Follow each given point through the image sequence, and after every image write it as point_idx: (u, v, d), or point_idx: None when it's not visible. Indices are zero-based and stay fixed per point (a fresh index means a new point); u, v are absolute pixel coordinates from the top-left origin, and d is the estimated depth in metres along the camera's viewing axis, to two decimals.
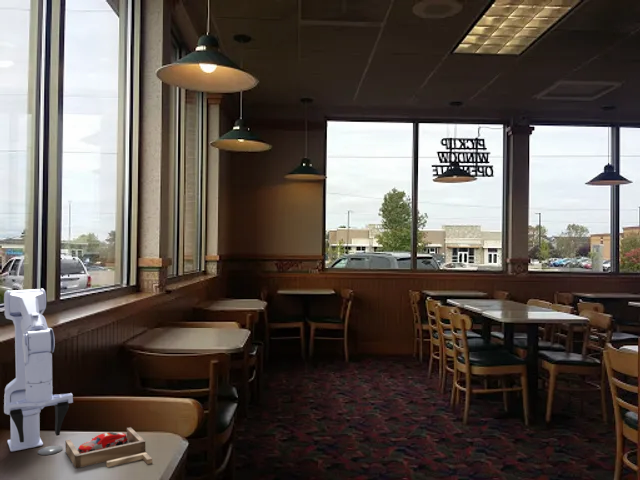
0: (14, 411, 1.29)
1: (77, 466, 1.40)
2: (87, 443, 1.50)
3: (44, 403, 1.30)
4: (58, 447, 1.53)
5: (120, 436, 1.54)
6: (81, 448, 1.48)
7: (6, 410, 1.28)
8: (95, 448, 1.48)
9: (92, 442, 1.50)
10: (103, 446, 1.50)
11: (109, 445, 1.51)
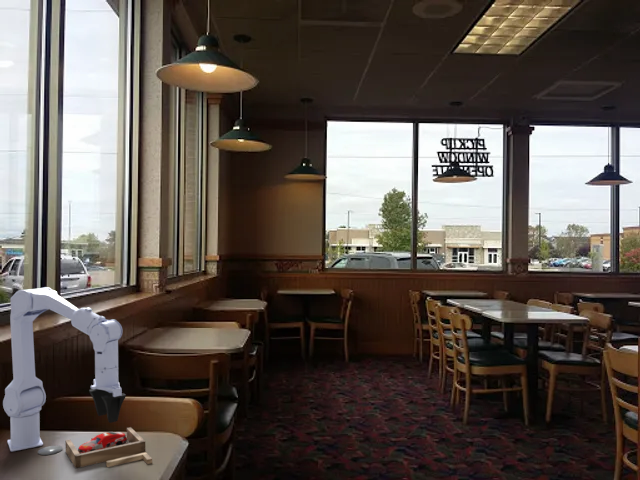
0: None
1: (77, 466, 1.40)
2: (87, 443, 1.50)
3: (92, 387, 1.44)
4: (58, 447, 1.53)
5: (120, 436, 1.54)
6: (81, 448, 1.47)
7: (93, 383, 1.52)
8: (96, 448, 1.48)
9: (92, 442, 1.50)
10: (103, 446, 1.50)
11: (109, 445, 1.51)
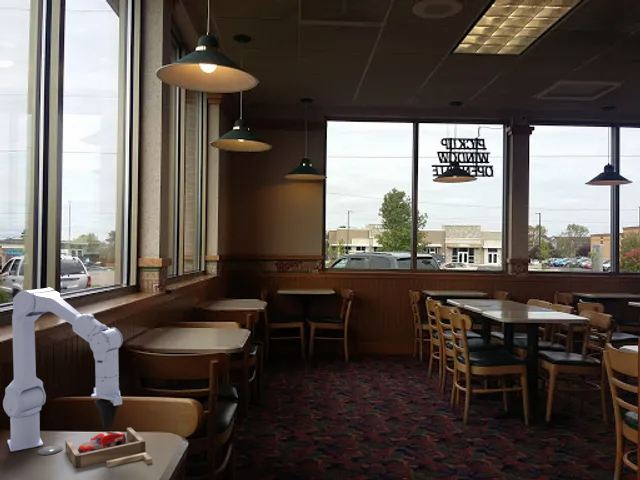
0: None
1: (77, 466, 1.40)
2: (87, 443, 1.50)
3: (93, 396, 1.44)
4: (58, 447, 1.53)
5: (119, 435, 1.55)
6: (82, 448, 1.47)
7: None
8: (96, 448, 1.48)
9: (92, 442, 1.50)
10: (103, 446, 1.50)
11: (109, 444, 1.52)
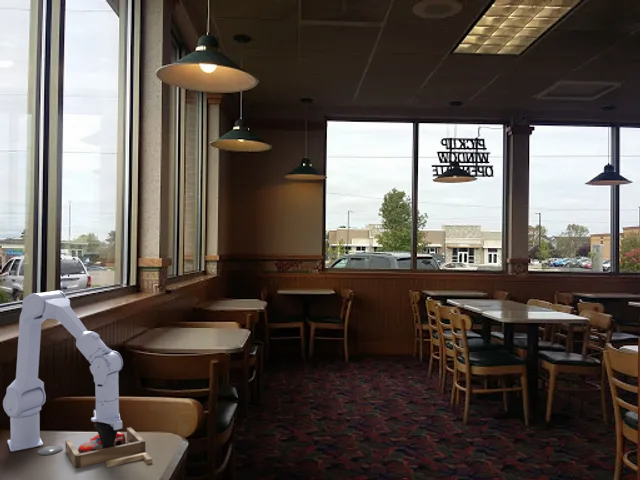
0: None
1: (77, 466, 1.40)
2: (87, 443, 1.50)
3: (93, 420, 1.45)
4: (58, 447, 1.53)
5: (119, 435, 1.55)
6: (82, 448, 1.47)
7: None
8: (96, 448, 1.49)
9: (92, 442, 1.50)
10: None
11: None
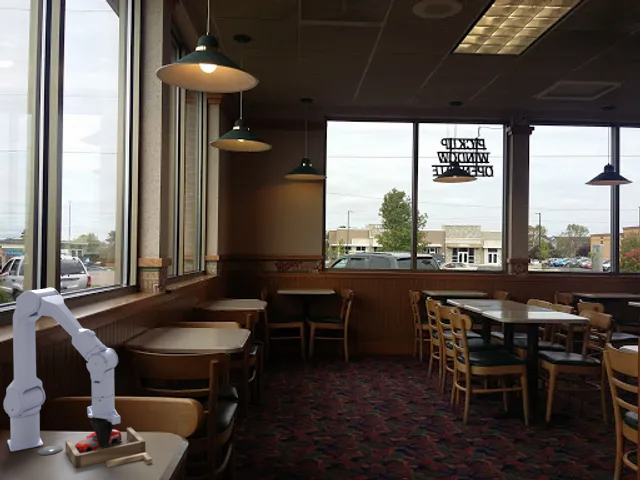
0: None
1: (77, 466, 1.40)
2: (83, 441, 1.51)
3: (90, 416, 1.48)
4: (58, 447, 1.53)
5: (115, 433, 1.56)
6: (78, 446, 1.49)
7: (87, 411, 1.55)
8: (92, 445, 1.50)
9: (88, 440, 1.52)
10: None
11: None
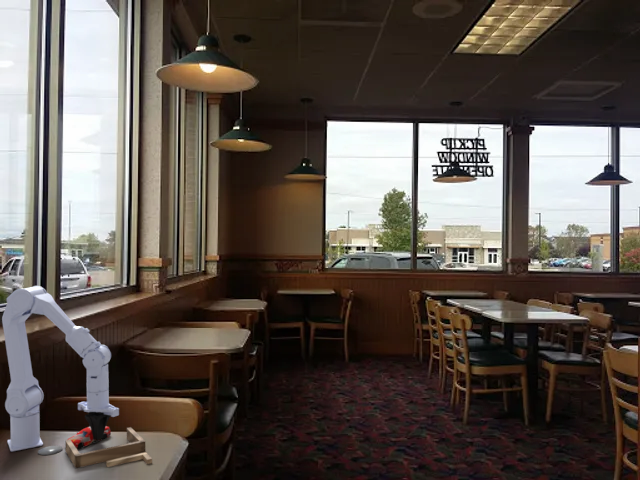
0: None
1: (77, 466, 1.40)
2: (74, 437, 1.55)
3: (87, 410, 1.53)
4: (58, 447, 1.53)
5: (105, 428, 1.60)
6: None
7: (78, 407, 1.59)
8: (84, 441, 1.54)
9: (79, 436, 1.55)
10: (90, 439, 1.56)
11: None
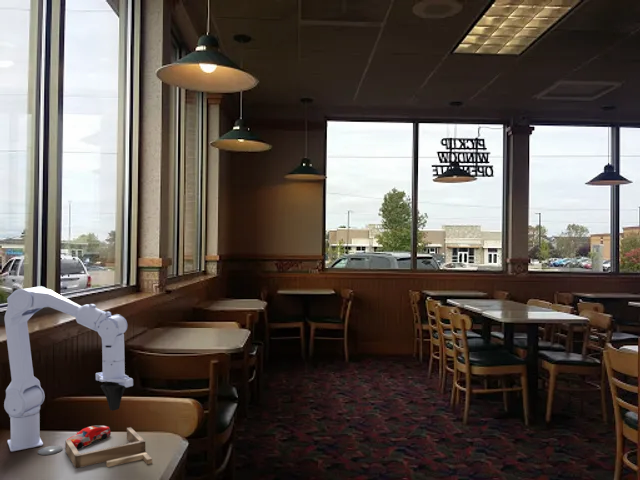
0: None
1: (77, 466, 1.40)
2: (74, 437, 1.55)
3: (102, 380, 1.50)
4: (58, 447, 1.53)
5: (104, 428, 1.60)
6: None
7: (96, 377, 1.56)
8: (83, 441, 1.54)
9: (79, 435, 1.55)
10: (90, 439, 1.56)
11: (95, 437, 1.57)
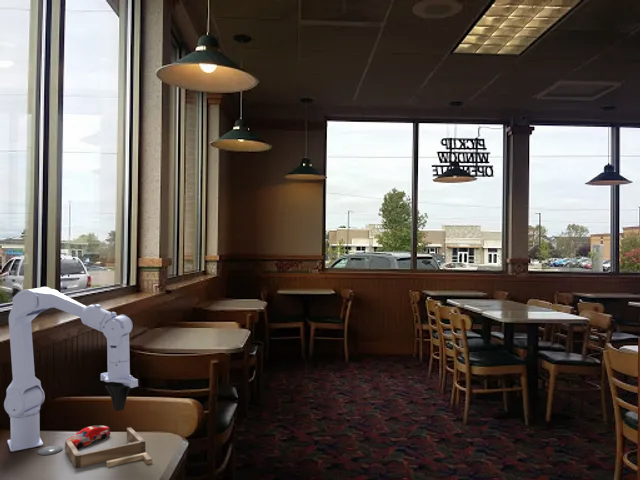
0: None
1: (77, 466, 1.40)
2: (74, 437, 1.55)
3: (107, 380, 1.49)
4: (58, 447, 1.53)
5: (104, 428, 1.60)
6: None
7: None
8: (83, 441, 1.54)
9: (79, 436, 1.55)
10: (90, 439, 1.56)
11: (95, 437, 1.57)
